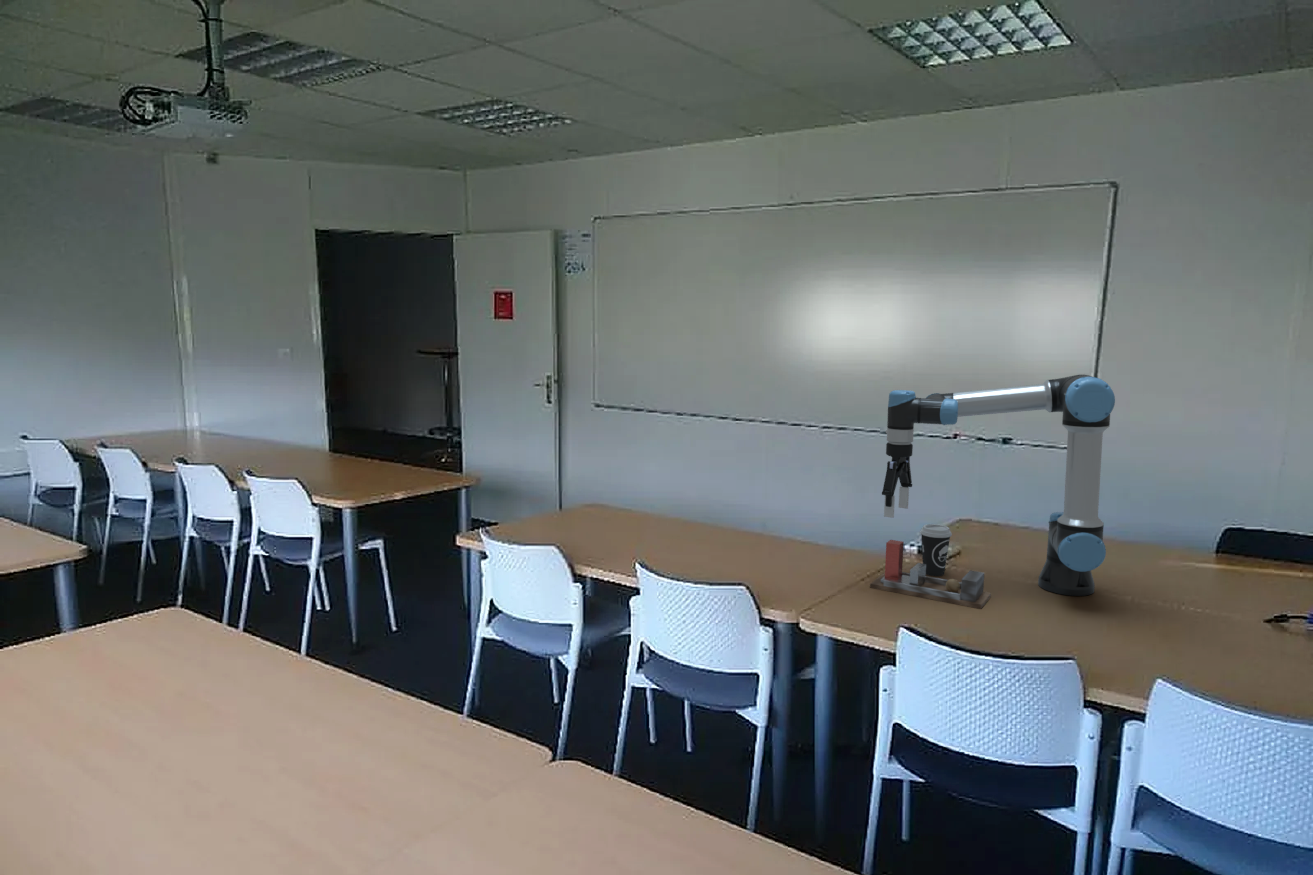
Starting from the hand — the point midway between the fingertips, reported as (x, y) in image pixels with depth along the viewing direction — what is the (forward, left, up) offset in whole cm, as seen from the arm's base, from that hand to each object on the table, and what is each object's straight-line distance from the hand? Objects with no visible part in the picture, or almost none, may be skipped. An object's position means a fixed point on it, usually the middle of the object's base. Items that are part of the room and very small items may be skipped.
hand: (896, 512), depth 244 cm
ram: (-3, 0, -21) cm, 21 cm away
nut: (-18, 0, -20) cm, 26 cm away
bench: (-11, 0, -23) cm, 25 cm away
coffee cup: (-7, -19, -23) cm, 31 cm away
